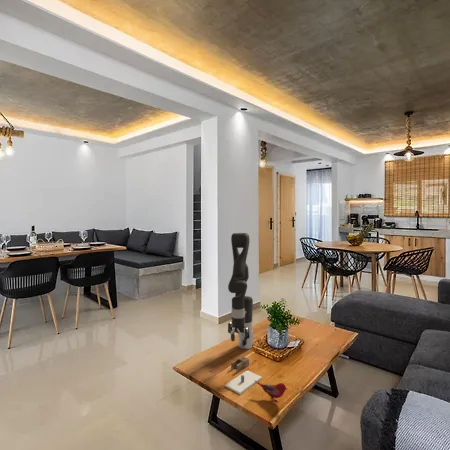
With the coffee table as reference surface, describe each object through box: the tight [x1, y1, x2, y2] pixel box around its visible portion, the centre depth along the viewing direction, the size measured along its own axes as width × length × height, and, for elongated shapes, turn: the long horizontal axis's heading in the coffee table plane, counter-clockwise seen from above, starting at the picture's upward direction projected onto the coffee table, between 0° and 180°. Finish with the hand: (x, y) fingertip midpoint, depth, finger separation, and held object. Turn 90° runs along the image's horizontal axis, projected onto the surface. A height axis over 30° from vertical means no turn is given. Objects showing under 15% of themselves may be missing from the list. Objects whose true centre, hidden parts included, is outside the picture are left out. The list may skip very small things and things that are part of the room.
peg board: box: [224, 369, 263, 395], centre depth 161 cm, size 18×10×4 cm, turn 137°
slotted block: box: [230, 355, 250, 373], centre depth 176 cm, size 10×5×4 cm, turn 137°
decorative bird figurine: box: [254, 380, 288, 402], centre depth 147 cm, size 3×18×10 cm, turn 53°
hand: (238, 343), depth 175 cm, fingers open, 8 cm apart
